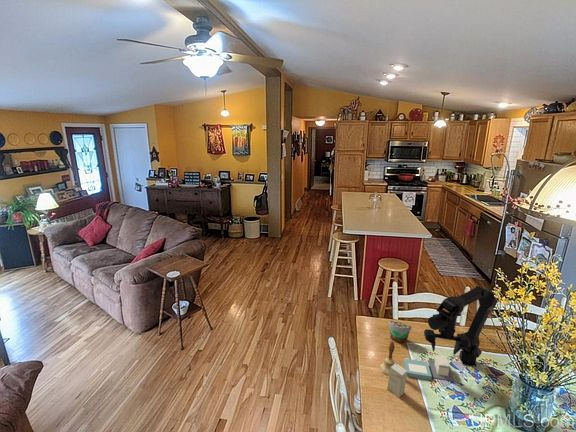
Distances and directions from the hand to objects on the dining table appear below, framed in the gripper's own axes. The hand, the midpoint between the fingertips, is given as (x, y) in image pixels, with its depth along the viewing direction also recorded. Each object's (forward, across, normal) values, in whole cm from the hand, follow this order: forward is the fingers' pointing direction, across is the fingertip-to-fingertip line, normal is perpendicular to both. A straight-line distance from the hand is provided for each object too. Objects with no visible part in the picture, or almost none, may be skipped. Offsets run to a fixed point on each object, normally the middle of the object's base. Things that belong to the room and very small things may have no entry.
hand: (443, 352), depth 147 cm
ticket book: (+10, +11, +2) cm, 16 cm away
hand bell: (+11, +25, +5) cm, 27 cm away
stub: (+10, 0, 0) cm, 10 cm away
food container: (+11, +18, -19) cm, 28 cm away
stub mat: (+10, 0, 0) cm, 10 cm away
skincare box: (+11, +23, +18) cm, 31 cm away
